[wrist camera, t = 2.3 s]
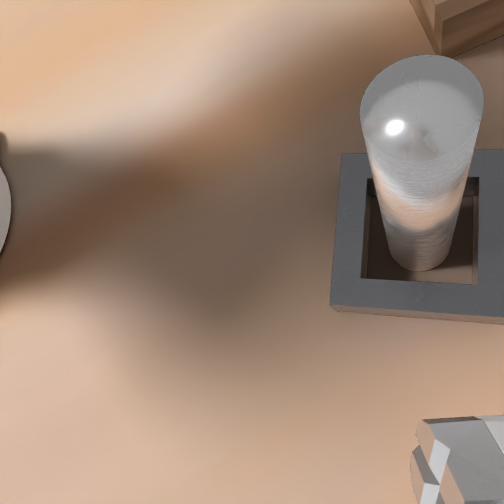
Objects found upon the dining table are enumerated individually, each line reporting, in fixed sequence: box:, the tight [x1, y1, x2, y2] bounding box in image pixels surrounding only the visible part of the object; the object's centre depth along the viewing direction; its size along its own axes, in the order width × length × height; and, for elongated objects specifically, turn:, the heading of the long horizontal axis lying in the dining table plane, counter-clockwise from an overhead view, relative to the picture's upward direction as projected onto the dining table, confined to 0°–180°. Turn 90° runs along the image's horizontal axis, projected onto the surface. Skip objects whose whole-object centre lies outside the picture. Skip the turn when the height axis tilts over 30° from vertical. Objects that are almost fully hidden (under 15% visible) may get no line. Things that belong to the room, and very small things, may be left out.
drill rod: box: [360, 55, 484, 271], centre depth 22 cm, size 4×4×16 cm
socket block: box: [330, 149, 504, 325], centre depth 28 cm, size 9×9×3 cm
